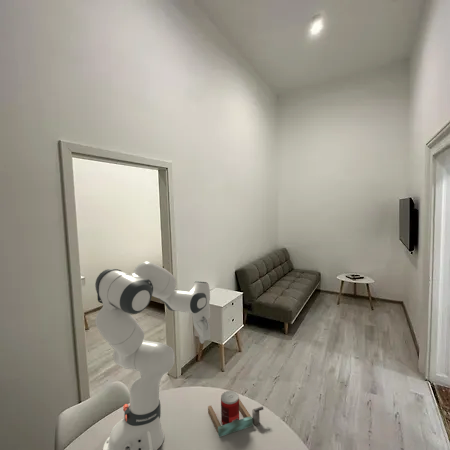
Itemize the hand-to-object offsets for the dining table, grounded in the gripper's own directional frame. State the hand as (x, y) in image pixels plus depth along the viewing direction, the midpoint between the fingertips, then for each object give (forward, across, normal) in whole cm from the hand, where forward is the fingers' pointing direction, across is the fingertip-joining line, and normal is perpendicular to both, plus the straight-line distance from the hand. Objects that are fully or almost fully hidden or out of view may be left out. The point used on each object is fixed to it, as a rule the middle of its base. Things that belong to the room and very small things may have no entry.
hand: (201, 342), depth 127 cm
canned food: (+28, -20, -7) cm, 34 cm away
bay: (+27, -18, -10) cm, 34 cm away
